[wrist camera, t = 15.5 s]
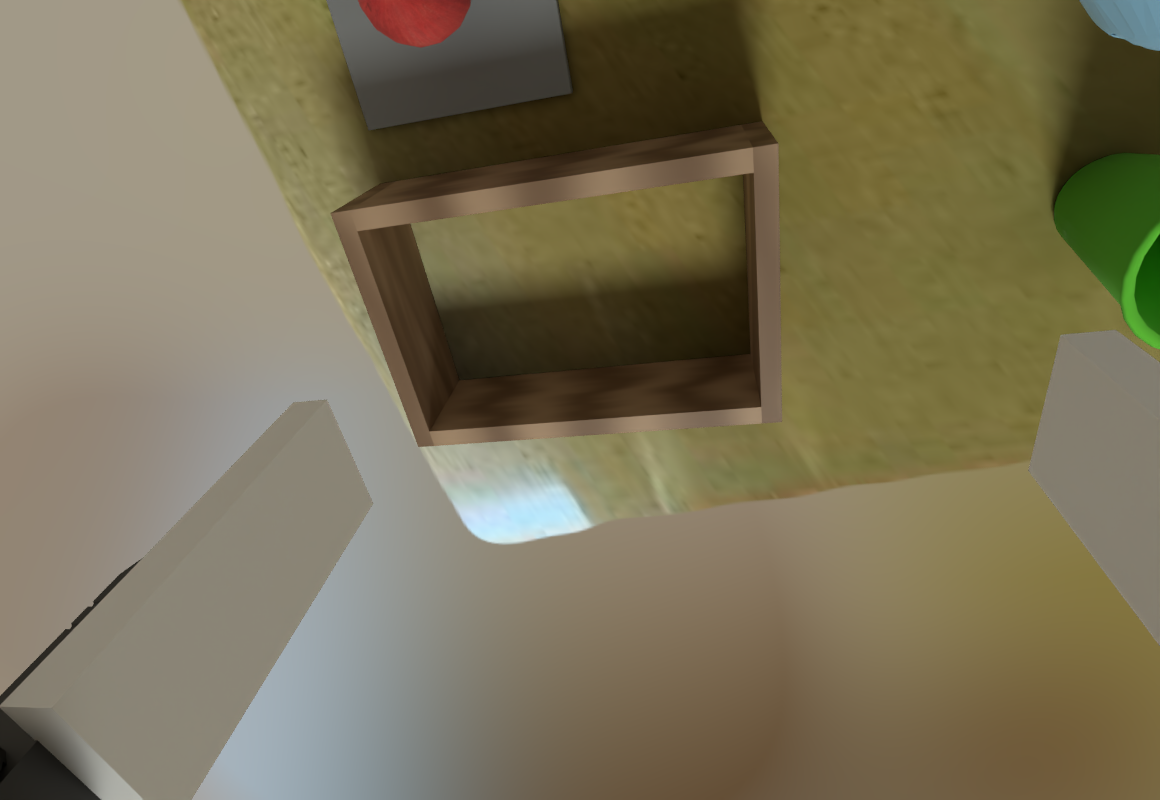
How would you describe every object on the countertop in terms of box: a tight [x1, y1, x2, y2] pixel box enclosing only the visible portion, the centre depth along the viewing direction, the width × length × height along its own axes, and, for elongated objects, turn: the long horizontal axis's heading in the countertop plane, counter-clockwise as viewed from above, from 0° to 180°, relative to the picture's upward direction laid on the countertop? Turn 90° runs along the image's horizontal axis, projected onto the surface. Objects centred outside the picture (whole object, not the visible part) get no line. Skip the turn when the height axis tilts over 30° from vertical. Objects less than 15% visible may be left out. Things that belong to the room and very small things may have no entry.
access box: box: [331, 121, 782, 447], centre depth 40 cm, size 24×16×7 cm
